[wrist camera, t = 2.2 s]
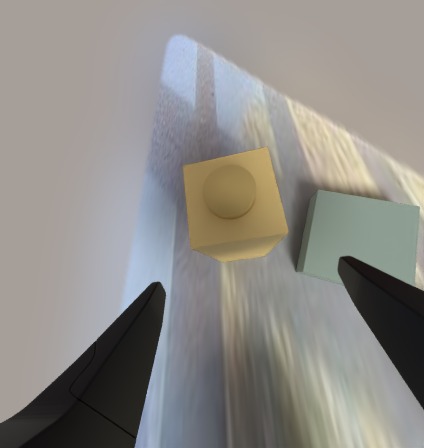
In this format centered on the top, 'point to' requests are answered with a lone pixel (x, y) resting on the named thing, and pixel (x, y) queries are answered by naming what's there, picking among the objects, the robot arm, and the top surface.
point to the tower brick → (234, 206)
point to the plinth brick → (358, 236)
